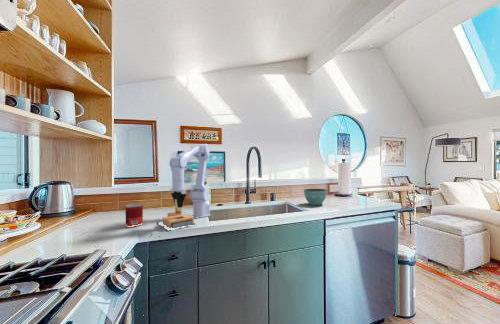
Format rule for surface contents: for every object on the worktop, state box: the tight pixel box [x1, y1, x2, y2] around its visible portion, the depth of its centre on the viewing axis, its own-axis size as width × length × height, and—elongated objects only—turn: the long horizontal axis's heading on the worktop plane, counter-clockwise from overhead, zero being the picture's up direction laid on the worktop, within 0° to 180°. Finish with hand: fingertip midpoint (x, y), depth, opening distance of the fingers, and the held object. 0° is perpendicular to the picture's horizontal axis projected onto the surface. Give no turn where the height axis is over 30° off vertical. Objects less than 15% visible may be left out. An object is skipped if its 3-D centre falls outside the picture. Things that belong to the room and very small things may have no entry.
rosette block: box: [171, 218, 196, 228], centre depth 112 cm, size 14×18×3 cm
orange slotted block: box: [161, 211, 195, 228], centre depth 109 cm, size 12×11×5 cm
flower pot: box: [303, 188, 327, 206], centre depth 157 cm, size 16×16×11 cm
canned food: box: [125, 202, 144, 226], centre depth 111 cm, size 8×8×11 cm
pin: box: [174, 199, 182, 214], centre depth 108 cm, size 3×3×7 cm
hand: (178, 206), depth 108 cm, fingers closed on pin, 3 cm apart
